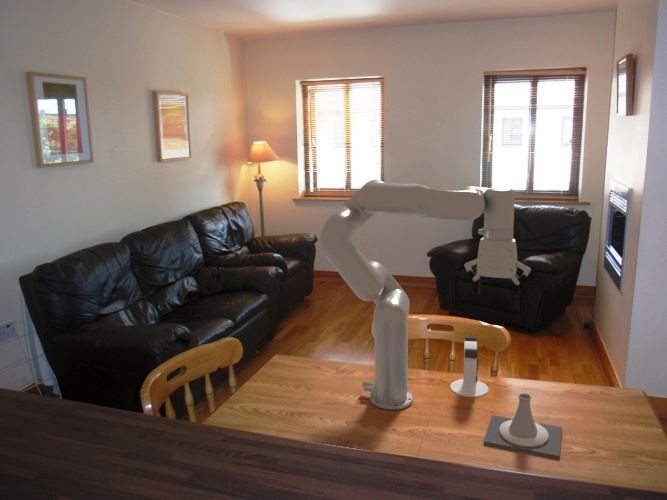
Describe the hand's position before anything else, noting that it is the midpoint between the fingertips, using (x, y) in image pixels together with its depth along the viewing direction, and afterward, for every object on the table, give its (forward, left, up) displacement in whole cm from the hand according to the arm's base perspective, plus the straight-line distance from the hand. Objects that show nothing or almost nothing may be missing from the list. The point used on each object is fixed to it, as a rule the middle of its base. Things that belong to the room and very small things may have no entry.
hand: (495, 295), depth 157 cm
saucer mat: (+10, -13, -33) cm, 37 cm away
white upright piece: (-8, +9, -34) cm, 36 cm away
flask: (+10, -13, -32) cm, 36 cm away
